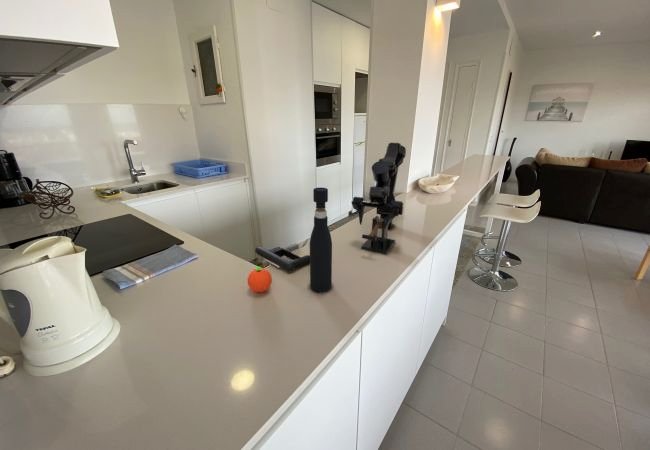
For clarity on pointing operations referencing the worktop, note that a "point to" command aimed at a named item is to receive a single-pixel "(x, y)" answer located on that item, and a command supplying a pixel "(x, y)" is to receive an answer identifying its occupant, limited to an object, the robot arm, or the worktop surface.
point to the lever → (374, 230)
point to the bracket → (379, 240)
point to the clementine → (259, 280)
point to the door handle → (276, 258)
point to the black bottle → (320, 245)
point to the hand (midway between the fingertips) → (372, 225)
